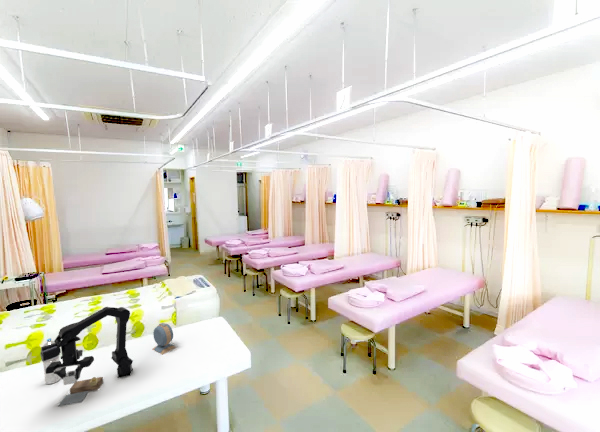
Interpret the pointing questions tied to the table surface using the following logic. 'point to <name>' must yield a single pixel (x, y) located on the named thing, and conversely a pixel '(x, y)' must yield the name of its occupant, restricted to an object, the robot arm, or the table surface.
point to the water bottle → (49, 377)
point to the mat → (73, 398)
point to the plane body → (85, 386)
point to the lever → (94, 381)
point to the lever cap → (70, 378)
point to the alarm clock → (163, 338)
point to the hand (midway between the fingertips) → (72, 379)
